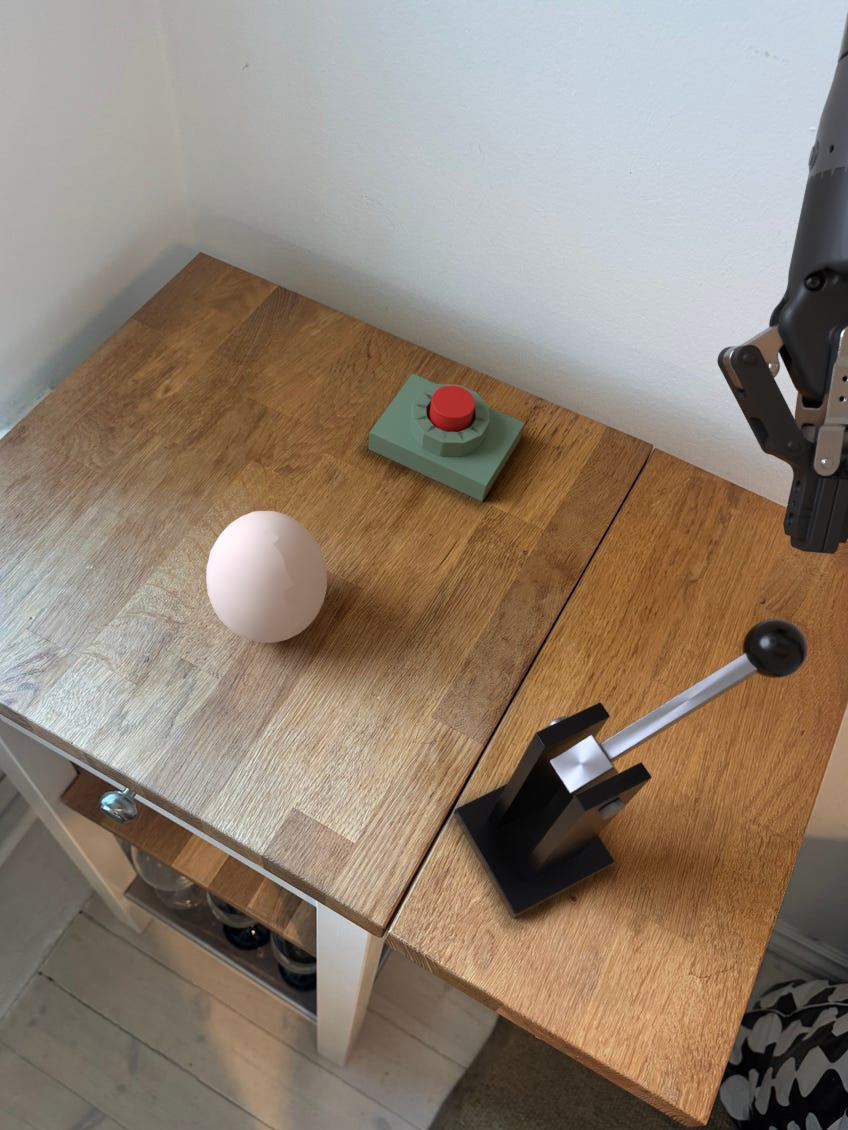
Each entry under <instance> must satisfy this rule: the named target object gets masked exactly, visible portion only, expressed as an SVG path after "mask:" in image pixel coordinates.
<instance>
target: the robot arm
mask: <svg viewBox="0 0 848 1130" xmlns="http://www.w3.org/2000/svg"><path fill="white" fill-rule="evenodd" d="M841 37H842V38H841V41H840V47H839V52H838V57H837V64H836V66H835V69H834V75H833V79H832V82H831V85H830V88H829V92H828V94H827V97H826V100H825V103H824V105H823V109H822V112H821V115H820V118H819V122H818V126H817V130H816V136H815V141H814V144H813V146H812V147H811V150H810V152H809V157H808V165H807V166H808V175H807V180H806V184H805V188H804V194H803V199H802V204H801V209H800V214H799V219H798V224H797V228H796V233H795V238H794V239H795V240H794V243H793V249H792V254H791V258H790V263H789V267H788V272H787V273H788V274H787V275H788V276H787V286H786V289H785V292H784V294H783V296H782V298H781V299H780V301H779V303H777V305H776V306H775V307H774V309H773V310H772V312H771V315H770V318H769V322H768V327H767V328H764V330H762V331H760V332H759V333H757V334H755V335H754V336H753V337H751V338H750V339H748V340H746V341H744V342H743V343H741V344H740V345H733V346H727V347H724V348H723V349H722V350H721V351H720V352H719V353H718V355H717V366H718V367H719V369H720V372H721V373H722V375H723V377H724V379H725V381H726V383H727V385H728V387H729V389H730V391H731V393H732V394H733V395H732V396H733V397H734V398H735V401H736V402H737V405H738V406H739V408H740V410H741V412H742V414H743V416H744V418H745V420H746V422H747V424H748V425H749V428H750V429H751V431H752V433H753V435H754V437H755V439H756V441H757V443H758V446H759V447H760V449H761V450H762V452H763V453H765V454H766V455H770V456H773V457H775V458H776V459H779V460H781V461H782V462H785V463H786V464H788V465H789V466H790V468H791V469H792V475H793V476H792V481H791V485H790V491H789V494H788V495H789V496H788V499H787V500H788V501H787V506H786V509H785V514H784V519H783V523H782V526H783V531H784V535H786V536H788V537H789V543H790V546H791V547H792V548H793V549H797V550H799V551H801V552H805V553H806V552H807V553H815V554H829V555H834V554H835V553H836V552H838V549H839V547H840V546H839V545H840V544H846V543H847V541H848V12H847V13H846V19H845V23H844V28H843V33H842V36H841ZM779 356H780V358H781V360H782V362H783V364H784V367H785V369H786V371H787V373H788V376H789V378H790V380H791V382H792V384H793V387H794V388H795V390H796V391H797V394H796V403H795V408H794V414H793V412H792V410H791V409H790V407H789V405H788V403H787V401H786V398H785V397H784V395H783V393H782V391H781V390H780V387H779V385H778V383H777V381H776V379H775V378H776V377H777V376H778V374H779V372H780V370H781V363H780V359H779Z"/></svg>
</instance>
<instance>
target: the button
mask: <svg viewBox="0 0 848 1130" xmlns="http://www.w3.org/2000/svg"><path fill="white" fill-rule="evenodd" d="M453 385H454V384H450V386H444V387H441V388H439V389H438V390H436V391H435V393H434V394H433V396H432V401H431V406H430V412H429V416H430V419H431V421H432V423H433V424H434V425H435V426H436V427H438V428H439V429H441V430H444V431H447V432H458V431H461V430H463V429H465V428H467V427H468V426H469V424H470V423H471V420H472V416H473V412H474V407H475V400H474V398H473V396H472V394H471V393H470V392H469V391H467V390H466V389H464V388H462V387H459V386H453Z"/></svg>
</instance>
